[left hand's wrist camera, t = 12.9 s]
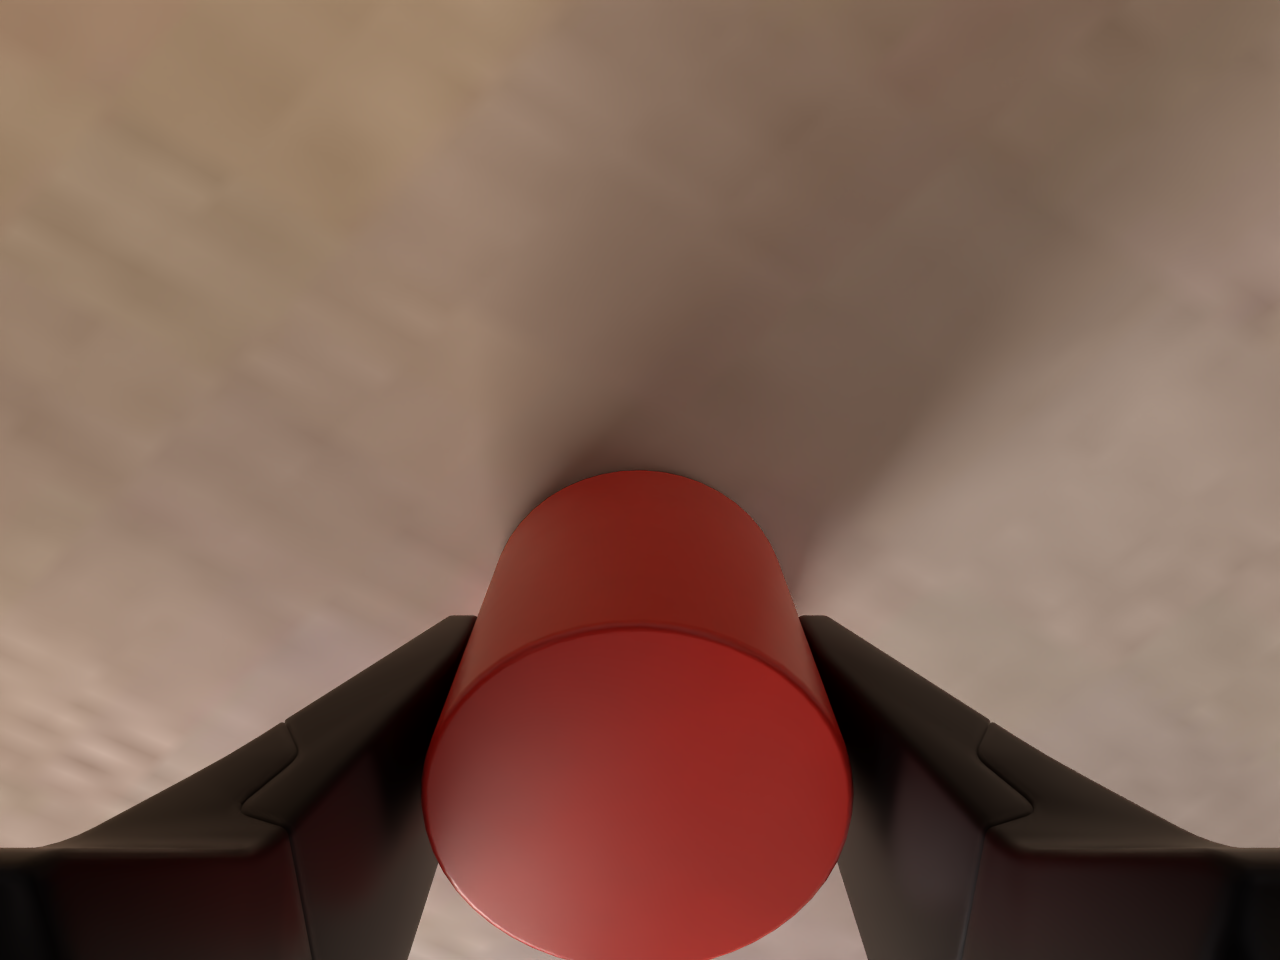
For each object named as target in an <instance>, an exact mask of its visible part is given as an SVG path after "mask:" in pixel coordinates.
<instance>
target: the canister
mask: <svg viewBox="0 0 1280 960" xmlns="http://www.w3.org/2000/svg"><path fill="white" fill-rule="evenodd" d="M853 795H854V788H853V777H852V768H851V764H850V760H849V756H848V752H847V749H846V745H845V742H844V740H843V737H842V734H841V731H840V729H839V726H838V723H837V720H836V718H835V715H834V712H833V710H832V707H831V704H830V701H829V699H828V696H827V693H826V691H825V688H824V685H823V682H822V680H821V677H820V674H819V671H818V669H817V666H816V663H815V661H814V658H813V655H812V652H811V650H810V647H809V644H808V642H807V639H806V636H805V633H804V631H803V628H802V625H801V622H800V620H799V617H798V614H797V612H796V609H795V606H794V603H793V601H792V598H791V595H790V593H789V590H788V587H787V584H786V582H785V579H784V576H783V573H782V571H781V568H780V565H779V563H778V560H777V558H776V556H775V553H774V551H773V549H772V546H771V544H770V543H769V541H768V540H767V538H766V536H765V535H764V533H763V532H762V530H761V529H760V528H759V526H758V525H757V524H756V523H755V522H754V520H753V519H752V518H751V517H750V516H749V515H748V514H747V513H746V512H745V511H744V510H743V509H742V508H740V507H739V506H738V505H737V504H736V503H735V502H733V501H732V500H730V499H729V498H727V497H726V496H724V495H723V494H722V493H720V492H718V491H716V490H714V489H712V488H710V487H708V486H706V485H705V484H703V483H700V482H697V481H694V480H692V479H689V478H686V477H683V476H679V475H674V474H669V473H665V472H656V471H645V470H637V471H619V472H613V473H607V474H601V475H598V476H594V477H591V478H587V479H584V480H581V481H579V482H577V483H574V484H572V485H570V486H568V487H565V488H563V489H562V490H560V491H558V492H557V493H555V494H553V495H552V496H550V497H548V498H547V499H546V500H545V501H543V502H542V503H541V504H540V505H538V506H537V507H536V508H535V509H533V510H532V511H531V512H530V513H529V514H528V515H527V517H526V518H525V519H524V520H523V521H522V522H521V523H520V524H519V526H518V527H517V528H516V530H515V531H514V532H513V534H512V535H511V537H510V538H509V540H508V542H507V544H506V546H505V548H504V550H503V552H502V554H501V556H500V559H499V561H498V564H497V567H496V569H495V572H494V575H493V577H492V580H491V583H490V585H489V588H488V590H487V593H486V596H485V598H484V601H483V604H482V606H481V609H480V612H479V614H478V617H477V620H476V622H475V625H474V627H473V630H472V633H471V635H470V638H469V641H468V643H467V646H466V649H465V651H464V654H463V657H462V659H461V662H460V664H459V667H458V670H457V672H456V675H455V678H454V680H453V683H452V686H451V688H450V691H449V693H448V696H447V699H446V701H445V704H444V707H443V709H442V712H441V715H440V717H439V720H438V723H437V725H436V728H435V730H434V733H433V736H432V739H431V742H430V745H429V748H428V750H427V753H426V756H425V761H424V767H423V773H422V779H421V805H422V811H423V817H424V824H425V829H426V832H427V835H428V838H429V841H430V844H431V847H432V850H433V853H434V855H435V857H436V859H437V861H438V863H439V865H440V866H441V868H442V870H443V872H444V874H445V875H446V876H447V878H448V879H449V881H450V882H451V884H452V885H453V886H454V888H455V889H456V891H457V892H458V893H459V894H460V895H461V896H462V897H463V898H464V899H465V900H466V902H467V903H468V904H469V905H470V906H471V907H472V908H473V909H474V910H475V911H477V912H478V913H479V914H480V915H481V916H483V917H484V918H485V919H486V920H487V921H489V922H490V923H491V924H493V925H494V926H496V927H497V928H499V929H500V930H502V931H503V932H505V933H506V934H508V935H509V936H511V937H513V938H515V939H517V940H519V941H520V942H522V943H524V944H526V945H528V946H530V947H532V948H535V949H537V950H540V951H542V952H545V953H548V954H550V955H553V956H556V957H559V958H563V959H566V960H710V959H713V958H716V957H719V956H722V955H725V954H728V953H731V952H733V951H736V950H738V949H740V948H742V947H744V946H747V945H749V944H751V943H753V942H755V941H757V940H759V939H760V938H762V937H764V936H765V935H767V934H769V933H770V932H772V931H774V930H776V929H777V928H778V927H780V926H781V925H782V924H783V923H785V922H786V921H787V920H789V919H790V918H791V917H793V916H794V915H795V914H796V913H797V912H798V911H799V910H800V909H801V908H802V907H803V906H805V905H806V904H807V903H808V902H809V901H810V900H811V899H812V898H813V896H814V895H815V894H816V892H817V891H818V890H819V889H820V887H821V886H822V885H823V884H824V882H825V881H826V880H827V878H828V876H829V875H830V873H831V871H832V869H833V868H834V866H835V864H836V863H837V861H838V859H839V856H840V854H841V851H842V849H843V846H844V844H845V841H846V838H847V834H848V830H849V825H850V821H851V817H852V810H853Z"/></svg>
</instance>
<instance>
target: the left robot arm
mask: <svg viewBox="0 0 1280 960" xmlns="http://www.w3.org/2000/svg"><path fill="white" fill-rule="evenodd" d="M476 620H477V617H476V616H473V615H453V616H449V617H447V618H446V619H444V620H442V621H441V622H439V623H438V624H436V625H434V626H433V627H431V628H430V629H428V630H427V631H425V632H423V633H422V634H420V635H419V636H417V637H416V638H414V639H412V640H411V641H409V642H408V643H406V644H404V645H403V646H401V647H400V648H398V649H397V650H395V651H393V652H392V653H390V654H389V655H387V656H386V657H384V658H382V659H381V660H379V661H378V662H376V663H375V664H373V665H371V666H370V667H368V668H367V669H365V670H363V671H362V672H360V673H359V674H357V675H356V676H354V677H352V678H351V679H349V680H348V681H346V682H344V683H343V684H341V685H340V686H338V687H337V688H335V689H333V690H332V691H330V692H329V693H327V694H326V695H324V696H322V697H321V698H319V699H318V700H316V701H314V702H313V703H311V704H310V705H308V706H307V707H305V708H303V709H302V710H300V711H299V712H297V713H295V714H294V715H292V716H291V717H289V718H288V719H286V720H285V723H283V722H282V723H279V724H278V725H276V726H275V727H273V728H272V729H270V730H269V731H267V732H265V733H264V734H262V735H261V736H259V737H257V738H256V739H254V740H252V741H251V742H249V743H247V744H246V745H244V746H242V747H241V748H239V749H237V750H236V751H234V752H233V753H231V754H229V755H228V756H226V757H224V758H222V759H220V760H219V761H217V762H215V763H213V764H211V765H209V766H208V767H206V768H204V769H202V770H200V771H199V772H197V773H195V774H193V775H191V776H190V777H188V778H186V779H184V780H182V781H180V782H178V783H176V784H175V785H173V786H171V787H169V788H167V789H165V790H163V791H162V792H160V793H158V794H156V795H154V796H152V797H150V798H148V799H147V800H145V801H143V802H141V803H139V804H137V805H135V806H133V807H132V808H130V809H128V810H126V811H124V812H122V813H120V814H119V815H117V816H115V817H113V818H111V819H109V820H107V821H105V822H104V823H102V824H100V825H98V826H96V827H94V828H92V829H90V830H88V831H86V832H84V833H82V834H80V835H77V836H75V837H72V838H69V839H67V840H64V841H61V842H58V843H54V844H50V845H47V846H43V847H36V848H0V960H407V959H408V956H409V953H410V950H411V947H412V944H413V941H414V937H415V934H416V931H417V928H418V925H419V922H420V919H421V915H422V912H423V909H424V906H425V903H426V900H427V897H428V893H429V890H430V887H431V884H432V881H433V878H434V875H435V872H436V868H437V865H438V861H437V859H436V857H435V855H434V853H433V850H432V847H431V844H430V841H429V838H428V835H427V832H426V829H425V824H424V817H423V811H422V805H421V779H422V773H423V767H424V761H425V756H426V753H427V750H428V748H429V745H430V742H431V739H432V736H433V733H434V730H435V728H436V725H437V723H438V720H439V717H440V715H441V712H442V709H443V707H444V704H445V701H446V699H447V696H448V693H449V691H450V688H451V686H452V683H453V680H454V678H455V675H456V672H457V670H458V667H459V664H460V662H461V659H462V657H463V654H464V651H465V649H466V646H467V643H468V641H469V638H470V635H471V633H472V630H473V627H474V625H475V622H476ZM799 620H800V622H801V625H802V628H803V631H804V633H805V636H806V639H807V642H808V644H809V647H810V650H811V652H812V655H813V658H814V661H815V663H816V666H817V669H818V671H819V674H820V677H821V680H822V682H823V685H824V688H825V691H826V693H827V696H828V699H829V701H830V704H831V707H832V710H833V712H834V715H835V718H836V720H837V723H838V726H839V729H840V731H841V734H842V737H843V740H844V742H845V745H846V749H847V752H848V756H849V760H850V764H851V768H852V777H853V788H854V795H853V810H852V817H851V821H850V825H849V830H848V834H847V838H846V841H845V844H844V846H843V849H842V851H841V854H840V856H839V859H838V861H837V863H838V866H839V869H840V872H841V875H842V878H843V882H844V885H845V888H846V891H847V894H848V898H849V901H850V904H851V907H852V910H853V913H854V917H855V920H856V923H857V926H858V929H859V932H860V936H861V939H862V942H863V945H864V948H865V951H866V955H867V958H868V960H1280V848H1237V847H1230V846H1227V845H1223V844H1219V843H1215V842H1212V841H1209V840H1207V839H1204V838H1201V837H1199V836H1196V835H1194V834H1192V833H1190V832H1188V831H1186V830H1184V829H1182V828H1180V827H1178V826H1176V825H1174V824H1172V823H1170V822H1168V821H1166V820H1165V819H1163V818H1161V817H1159V816H1157V815H1155V814H1153V813H1152V812H1150V811H1148V810H1146V809H1144V808H1142V807H1140V806H1139V805H1137V804H1135V803H1133V802H1131V801H1129V800H1127V799H1126V798H1124V797H1122V796H1120V795H1118V794H1116V793H1114V792H1113V791H1111V790H1109V789H1107V788H1105V787H1103V786H1101V785H1100V784H1098V783H1096V782H1094V781H1092V780H1090V779H1088V778H1087V777H1085V776H1083V775H1081V774H1079V773H1078V772H1076V771H1074V770H1072V769H1070V768H1069V767H1067V766H1065V765H1063V764H1061V763H1060V762H1058V761H1056V760H1054V759H1052V758H1051V757H1049V756H1047V755H1045V754H1044V753H1042V752H1040V751H1039V750H1037V749H1036V748H1034V747H1032V746H1031V745H1029V744H1027V743H1026V742H1024V741H1022V740H1021V739H1019V738H1018V737H1016V736H1014V735H1013V734H1011V733H1010V732H1008V731H1007V730H1005V729H1003V728H1002V727H1000V726H999V725H997V724H996V723H993V722H992V723H990V720H989V719H988V718H986V717H984V716H983V715H981V714H980V713H978V712H977V711H975V710H973V709H972V708H970V707H969V706H967V705H966V704H964V703H962V702H961V701H959V700H958V699H956V698H955V697H953V696H951V695H950V694H948V693H947V692H945V691H944V690H942V689H941V688H939V687H937V686H936V685H934V684H933V683H931V682H930V681H928V680H926V679H925V678H923V677H922V676H920V675H919V674H917V673H915V672H914V671H912V670H911V669H909V668H908V667H906V666H904V665H903V664H901V663H900V662H898V661H897V660H895V659H894V658H892V657H890V656H889V655H887V654H886V653H884V652H883V651H881V650H879V649H878V648H876V647H875V646H873V645H872V644H870V643H868V642H867V641H865V640H864V639H862V638H861V637H859V636H858V635H856V634H854V633H853V632H851V631H850V630H848V629H847V628H845V627H843V626H842V625H840V624H839V623H837V622H836V621H834V620H832V619H831V618H829V617H827V616H823V615H803V616H800V617H799Z"/></svg>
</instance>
